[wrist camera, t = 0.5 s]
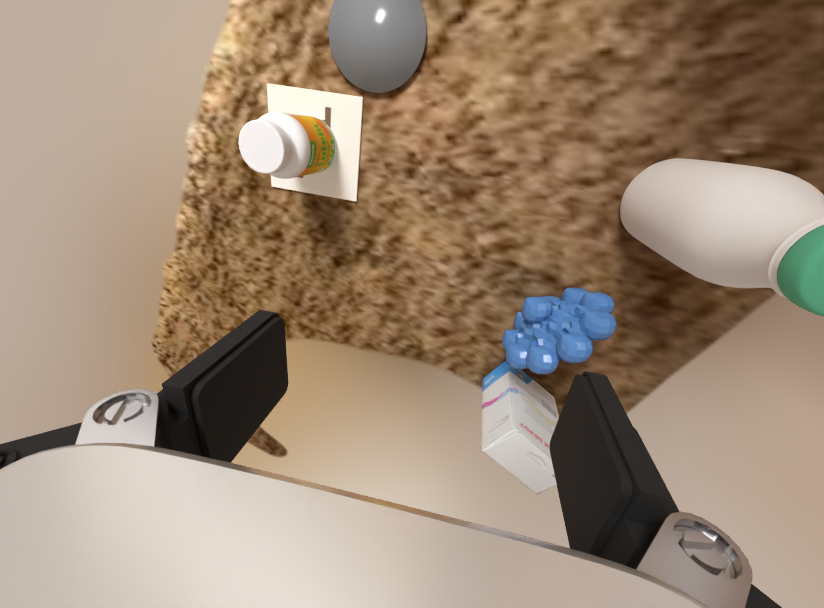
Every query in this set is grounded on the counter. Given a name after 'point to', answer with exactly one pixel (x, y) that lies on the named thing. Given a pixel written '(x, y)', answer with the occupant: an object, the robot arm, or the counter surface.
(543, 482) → the ink box
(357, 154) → the card
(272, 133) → the supplement bottle
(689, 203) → the milk bottle
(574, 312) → the grapes
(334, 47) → the gray round coaster
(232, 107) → the counter surface
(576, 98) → the counter surface
